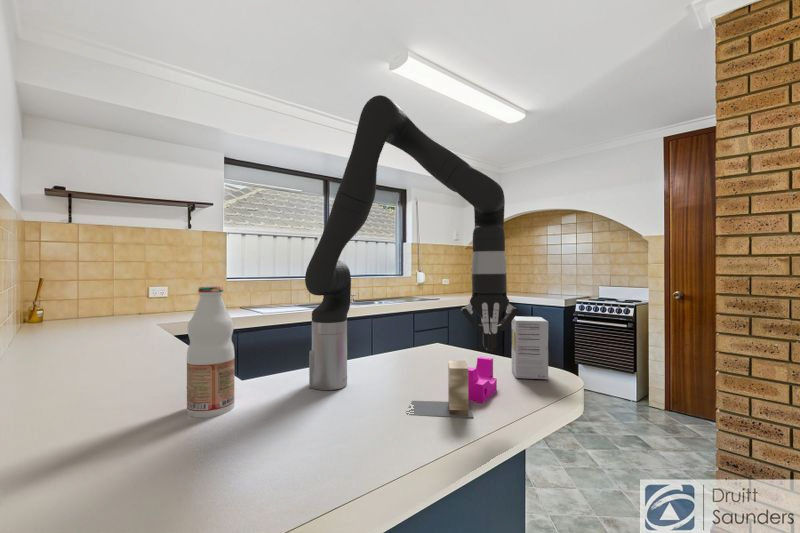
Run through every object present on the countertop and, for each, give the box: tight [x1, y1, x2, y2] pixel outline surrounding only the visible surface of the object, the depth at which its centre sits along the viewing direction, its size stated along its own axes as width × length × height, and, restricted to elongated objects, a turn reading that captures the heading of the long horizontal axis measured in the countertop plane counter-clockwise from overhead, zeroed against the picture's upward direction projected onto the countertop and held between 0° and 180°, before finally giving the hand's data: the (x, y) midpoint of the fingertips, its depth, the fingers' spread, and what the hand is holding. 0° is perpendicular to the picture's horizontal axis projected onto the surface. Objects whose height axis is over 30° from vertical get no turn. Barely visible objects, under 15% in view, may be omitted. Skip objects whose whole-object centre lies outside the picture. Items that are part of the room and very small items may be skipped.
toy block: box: [468, 356, 498, 404], centre depth 100 cm, size 15×6×8 cm, turn 148°
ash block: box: [447, 360, 469, 415], centre depth 88 cm, size 4×7×10 cm, turn 175°
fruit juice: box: [186, 286, 236, 418], centre depth 85 cm, size 9×9×28 cm
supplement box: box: [511, 315, 549, 380], centre depth 116 cm, size 10×9×17 cm
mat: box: [405, 400, 475, 419], centre depth 88 cm, size 16×9×1 cm, turn 85°
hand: (489, 349), depth 87 cm, fingers closed
